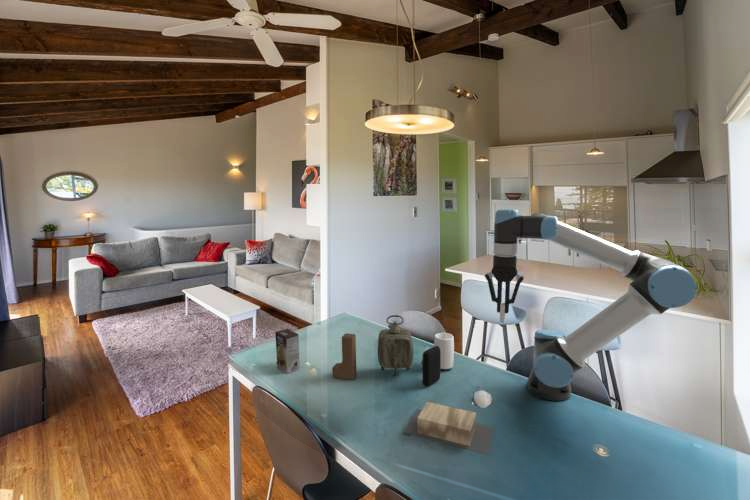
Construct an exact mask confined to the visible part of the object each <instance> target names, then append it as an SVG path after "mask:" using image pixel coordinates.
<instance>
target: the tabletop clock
mask: <svg viewBox="0 0 750 500" xmlns="http://www.w3.org/2000/svg"><path fill="white" fill-rule="evenodd" d="M390 318H400V319H401V320H402V321H401V322H398V323H397V321H394V322H393V323H392V322H390V321H389V319H390ZM404 321H405V320H404V318H403V317H402V316H401V315H398V314H393V315H392V314H391V315H390V316H387V317H386V323H387V324H388V325H391V326H390V327H389V328H385V329H382V330H380V331H379V333H378V338H377V359H378V364H379V366H380V370H381V371H384V370H385V369H394V372H393V376H394V377H397V376H398V372H397V369H405V370H406V371H410V369H411V366H412V364H413V360H414V344H413V337H412V333H411V331H410V330H408V329H406V328H405V329H404V328H401V327H400V325H403V323H404Z"/></svg>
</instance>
